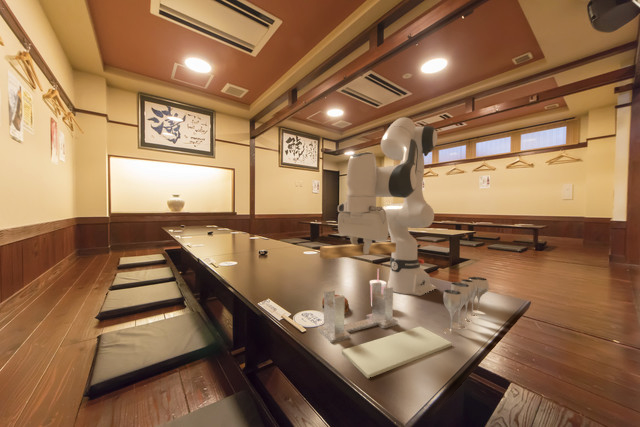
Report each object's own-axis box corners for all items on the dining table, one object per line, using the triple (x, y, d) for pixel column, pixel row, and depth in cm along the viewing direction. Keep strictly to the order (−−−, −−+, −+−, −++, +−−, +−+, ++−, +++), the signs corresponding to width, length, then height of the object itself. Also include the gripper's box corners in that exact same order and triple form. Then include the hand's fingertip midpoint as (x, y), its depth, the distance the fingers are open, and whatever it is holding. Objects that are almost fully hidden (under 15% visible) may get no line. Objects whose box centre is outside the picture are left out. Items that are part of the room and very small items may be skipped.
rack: (380, 314, 82) (381, 280, 82) (397, 324, 75) (398, 287, 75) (317, 329, 71) (318, 290, 71) (331, 343, 64) (332, 300, 64)
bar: (389, 250, 80) (389, 241, 80) (395, 252, 78) (395, 242, 78) (319, 257, 68) (320, 246, 68) (325, 259, 66) (325, 248, 65)
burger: (335, 302, 93) (336, 290, 93) (354, 310, 86) (354, 297, 85) (315, 309, 86) (316, 296, 86) (333, 318, 79) (333, 304, 79)
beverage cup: (389, 308, 88) (390, 270, 87) (374, 310, 86) (375, 271, 85) (379, 302, 93) (380, 266, 93) (366, 304, 91) (366, 267, 91)
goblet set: (458, 339, 68) (459, 291, 67) (437, 330, 72) (438, 286, 72) (490, 312, 85) (491, 275, 85) (472, 307, 90) (473, 272, 90)
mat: (420, 328, 73) (420, 326, 73) (451, 345, 64) (451, 342, 64) (341, 353, 60) (341, 350, 60) (367, 378, 51) (367, 374, 51)
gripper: (394, 206, 65) (393, 257, 65) (350, 206, 83) (349, 247, 83) (376, 206, 62) (375, 259, 62) (334, 206, 80) (334, 248, 80)
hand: (360, 252), depth 73 cm, fingers closed on bar, 3 cm apart
